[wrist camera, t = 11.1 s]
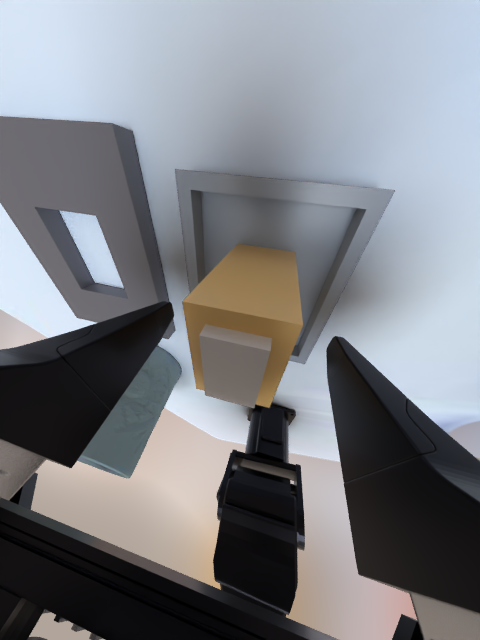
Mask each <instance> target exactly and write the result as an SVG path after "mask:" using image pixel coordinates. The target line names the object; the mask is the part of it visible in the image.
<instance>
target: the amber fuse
mask: <svg viewBox="0 0 480 640" xmlns="http://www.w3.org/2000/svg"><path fill="white" fill-rule="evenodd" d="M182 302H183V309H184V315H185V321H186V327H187V333H188V340H189V346H190V352H191V358H192V364H193V370H194V377H195V383H196V389H200V390H204V391H205V395H206V396H210V397H214V398H217V399H221V400H225V401H228V402H232V403H236V404H240V405H243V406H247V407H251V408H255V404H256V405H260V406H264V407H268V408H270V405H271V403H272V400H273V398H274V395H275V393H276V390H277V388H278V385H279V383H280V381H281V378H282V376H283V373H284V371H285V368H286V366H287V363H288V361H289V359H290V356H291V354H292V351H293V349H294V346H295V344H296V341H297V339H298V336H299V334H300V332H301V329H302V327H303V320H302V311H301V301H300V292H299V283H298V273H297V264H296V255H295V252H292V251H285V250H278V249H271V248H265V247H258V246H251V245H244V244H237V245H236V246H235V247H234V248H233V249H232V250H231V251H230V252H229V253H228V254H227V255H226V256H225V257H224V258H223V260H222V261H221V262H220V263H219V264H218V265H217V266H216V267H215V268H214V269H213V270H212V271H211V272H210V273H209V274H208V275H207V276H206V277H205V278H204V279H203V280H202V281H201V282H200V283H199V285H198V286H197V287H196V288H195V289H194V290H193V291H192V292H191V293H190V294H189V295H188V296H187V297H186V298H185V299H184V300H183V301H182Z"/></svg>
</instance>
